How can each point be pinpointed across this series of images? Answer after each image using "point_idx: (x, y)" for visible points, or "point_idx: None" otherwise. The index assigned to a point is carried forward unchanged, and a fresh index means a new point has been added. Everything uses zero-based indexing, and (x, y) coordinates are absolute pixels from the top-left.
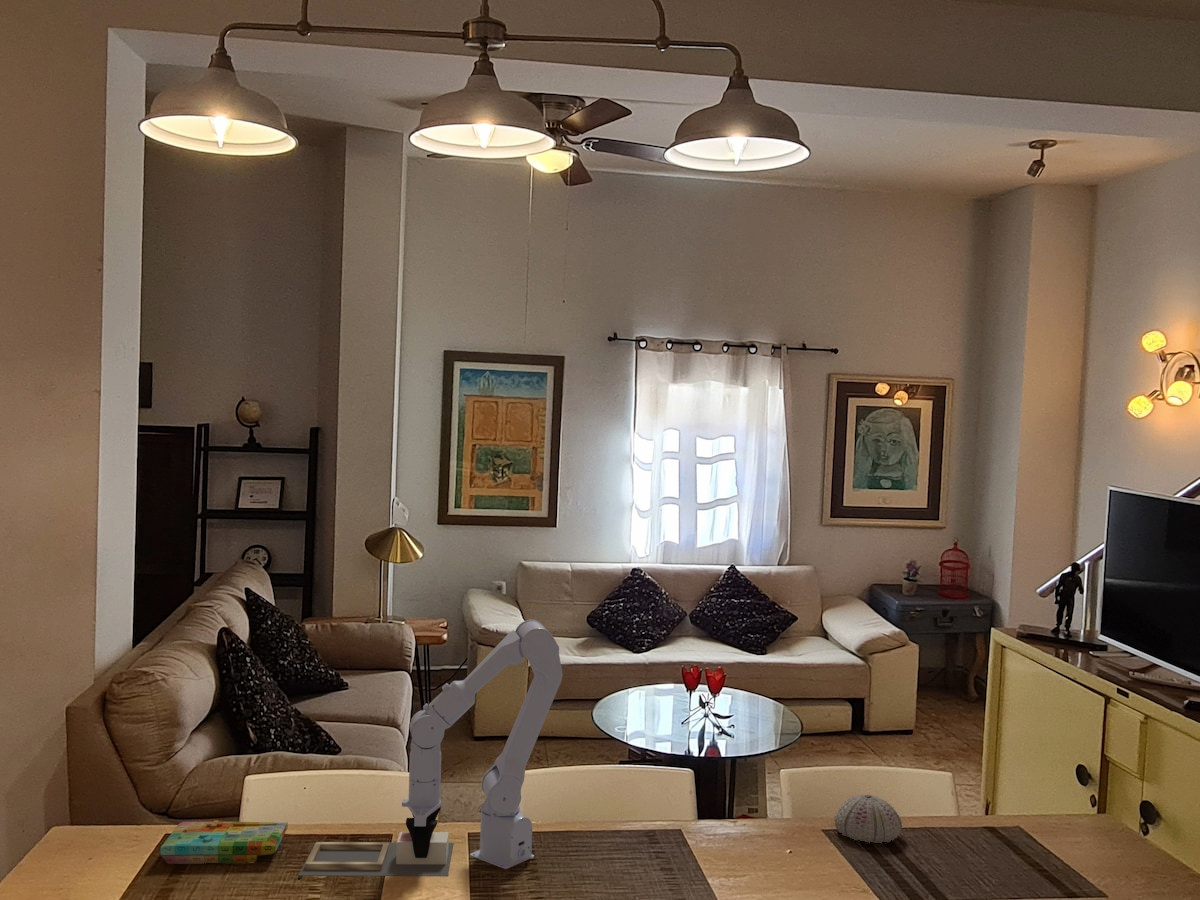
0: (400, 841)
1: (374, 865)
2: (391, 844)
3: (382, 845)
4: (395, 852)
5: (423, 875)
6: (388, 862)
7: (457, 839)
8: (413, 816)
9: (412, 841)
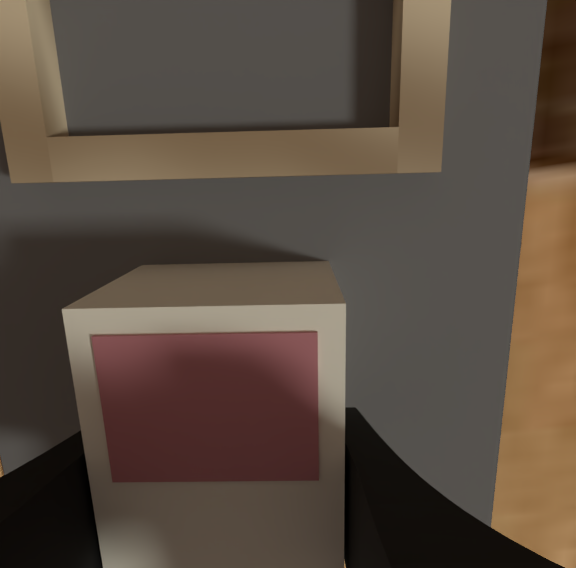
0: (88, 342)
1: (7, 125)
2: (487, 181)
3: (397, 122)
4: (340, 232)
5: (2, 444)
6: (165, 209)
7: (572, 555)
8: (381, 557)
9: (3, 477)
